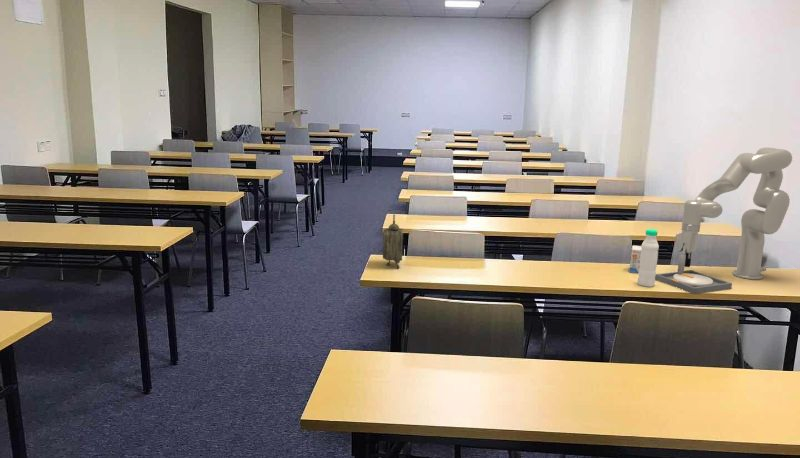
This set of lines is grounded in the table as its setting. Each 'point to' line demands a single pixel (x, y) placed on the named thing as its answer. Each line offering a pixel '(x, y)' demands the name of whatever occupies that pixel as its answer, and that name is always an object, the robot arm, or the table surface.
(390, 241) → the ribbed lidded container
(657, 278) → the gray square tray
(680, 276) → the dial
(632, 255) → the ink box
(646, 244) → the water bottle
